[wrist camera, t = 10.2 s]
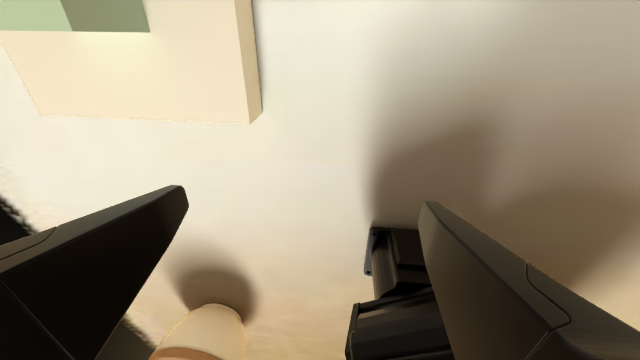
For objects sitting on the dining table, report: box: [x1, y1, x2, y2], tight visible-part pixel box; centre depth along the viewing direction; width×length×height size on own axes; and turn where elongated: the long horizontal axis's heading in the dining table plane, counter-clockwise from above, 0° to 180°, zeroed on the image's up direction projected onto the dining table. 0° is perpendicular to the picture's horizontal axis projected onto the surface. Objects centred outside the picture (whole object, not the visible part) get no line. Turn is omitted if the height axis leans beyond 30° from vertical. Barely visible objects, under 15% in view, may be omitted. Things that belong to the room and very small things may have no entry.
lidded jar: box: [148, 303, 247, 360], centre depth 31 cm, size 11×11×9 cm
